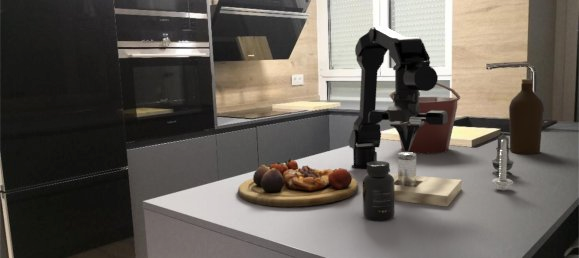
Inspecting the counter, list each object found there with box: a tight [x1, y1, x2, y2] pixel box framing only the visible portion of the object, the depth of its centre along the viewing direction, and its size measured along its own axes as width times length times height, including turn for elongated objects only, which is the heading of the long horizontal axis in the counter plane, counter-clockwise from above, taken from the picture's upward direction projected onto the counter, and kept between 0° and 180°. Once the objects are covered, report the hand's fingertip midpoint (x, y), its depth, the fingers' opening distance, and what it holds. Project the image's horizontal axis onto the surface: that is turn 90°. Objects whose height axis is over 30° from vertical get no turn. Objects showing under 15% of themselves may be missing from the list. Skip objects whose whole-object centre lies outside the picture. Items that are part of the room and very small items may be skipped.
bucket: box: [389, 81, 461, 155], centre depth 179 cm, size 24×22×25 cm
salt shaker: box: [491, 132, 515, 177], centre depth 139 cm, size 6×6×12 cm
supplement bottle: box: [362, 160, 396, 222], centre depth 106 cm, size 7×7×12 cm
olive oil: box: [508, 78, 545, 155], centre depth 168 cm, size 11×11×25 cm
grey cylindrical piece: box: [397, 151, 417, 187], centre depth 124 cm, size 5×5×10 cm
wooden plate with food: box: [237, 158, 359, 208], centre depth 130 cm, size 32×32×8 cm
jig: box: [390, 173, 462, 207], centre depth 123 cm, size 18×16×2 cm
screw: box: [491, 139, 514, 192], centre depth 124 cm, size 13×5×5 cm
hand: (407, 150), depth 123 cm, fingers closed
